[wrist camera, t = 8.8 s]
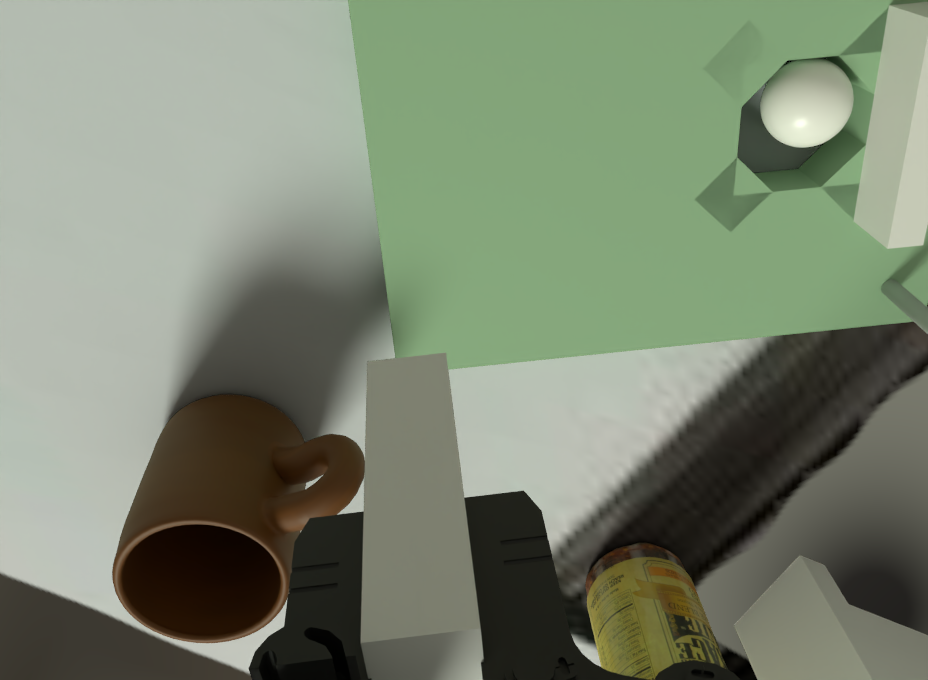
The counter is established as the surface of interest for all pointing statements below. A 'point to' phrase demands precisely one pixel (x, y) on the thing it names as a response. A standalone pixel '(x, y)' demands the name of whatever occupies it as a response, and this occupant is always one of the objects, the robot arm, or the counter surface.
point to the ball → (806, 102)
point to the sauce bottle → (647, 613)
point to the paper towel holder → (825, 633)
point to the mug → (226, 517)
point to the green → (635, 173)
